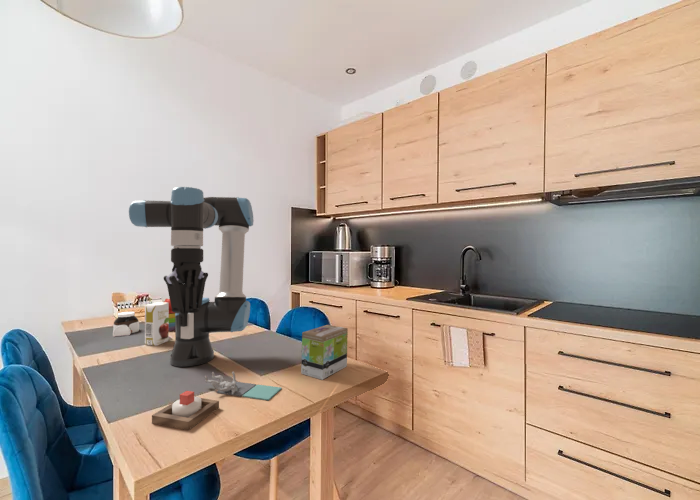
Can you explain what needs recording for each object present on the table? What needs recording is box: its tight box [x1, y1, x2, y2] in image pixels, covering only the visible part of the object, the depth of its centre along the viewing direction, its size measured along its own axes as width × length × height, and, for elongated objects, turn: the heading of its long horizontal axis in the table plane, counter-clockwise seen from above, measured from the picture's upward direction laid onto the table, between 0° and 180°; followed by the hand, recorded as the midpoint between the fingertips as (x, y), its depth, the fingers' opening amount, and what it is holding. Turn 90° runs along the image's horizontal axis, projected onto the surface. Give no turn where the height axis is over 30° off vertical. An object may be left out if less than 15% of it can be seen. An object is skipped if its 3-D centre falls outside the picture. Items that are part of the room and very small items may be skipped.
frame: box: [151, 397, 220, 431], centre depth 83 cm, size 11×11×2 cm
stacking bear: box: [163, 298, 175, 332], centre depth 163 cm, size 11×10×18 cm
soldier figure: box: [204, 371, 239, 396], centre depth 97 cm, size 8×5×12 cm
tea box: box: [300, 324, 349, 381], centre depth 114 cm, size 15×10×15 cm, turn 148°
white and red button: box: [171, 390, 202, 418], centre depth 83 cm, size 7×7×6 cm
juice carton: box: [144, 301, 170, 347], centre depth 142 cm, size 8×9×19 cm
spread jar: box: [112, 311, 140, 338], centre depth 155 cm, size 12×11×12 cm
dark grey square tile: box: [216, 380, 257, 398], centre depth 98 cm, size 8×8×1 cm
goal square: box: [242, 383, 283, 401], centre depth 96 cm, size 8×8×1 cm
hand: (187, 337), depth 83 cm, fingers closed
